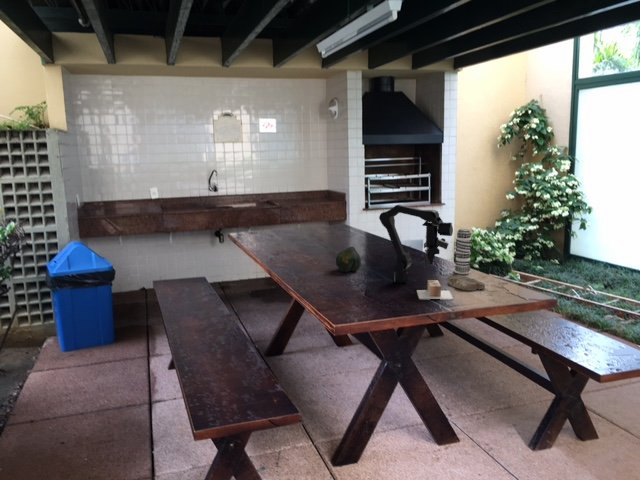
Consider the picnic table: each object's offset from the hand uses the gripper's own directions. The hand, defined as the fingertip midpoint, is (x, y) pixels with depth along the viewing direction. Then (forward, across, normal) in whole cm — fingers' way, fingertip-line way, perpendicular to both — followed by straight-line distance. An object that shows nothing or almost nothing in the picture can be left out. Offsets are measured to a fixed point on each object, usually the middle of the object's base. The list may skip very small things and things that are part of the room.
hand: (430, 264), depth 275 cm
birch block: (+8, -10, 0) cm, 13 cm away
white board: (+12, -18, 0) cm, 22 cm away
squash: (+12, +30, +44) cm, 55 cm away
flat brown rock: (+12, +1, -17) cm, 21 cm away
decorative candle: (+12, +30, -21) cm, 39 cm away
